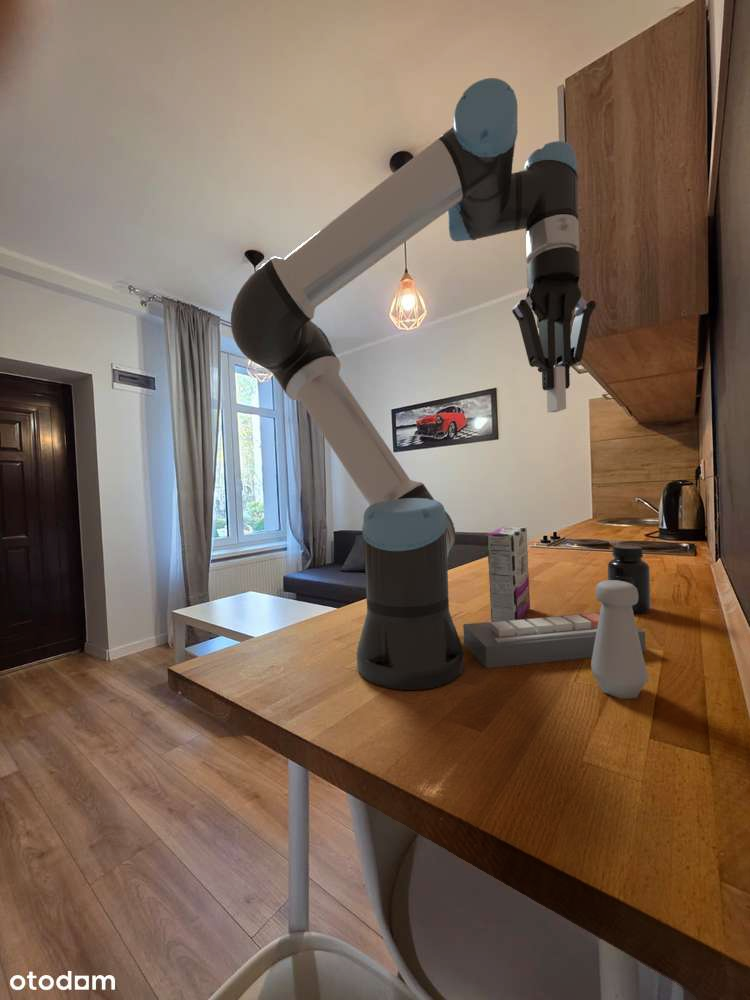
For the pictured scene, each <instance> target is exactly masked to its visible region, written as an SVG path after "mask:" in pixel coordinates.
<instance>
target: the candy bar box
mask: <svg viewBox="0 0 750 1000" xmlns="http://www.w3.org/2000/svg"><path fill="white" fill-rule="evenodd" d="M486 536H487V537H486V538H487V539H486V542H487V559H488V561H487V562H488V573H489V574H488V577H489V579H488V580H489V596H490V597H489V598H490V599H489V600H490V617H491V618H490V620H491V621H490V622H495V621H506V620H518V619H524V617H525V615H526V614H527V613H528V611H529V610H530V608H531V601H530V600H531V599H530V579H529V555H528V535H527V527H525V526H503V527H500V528H499V529H498V528H497V529H496V530H494V531H491V532H490V533H487V534H486Z"/></svg>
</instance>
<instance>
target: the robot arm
mask: <svg viewBox="0 0 750 1000" xmlns="http://www.w3.org/2000/svg"><path fill="white" fill-rule="evenodd" d="M517 100H518V99H517V96H516V93H515V91H514V89H513V88H512V87H511V85H509V84H508V82H506V81H505V80H503V79H499V78H496V77H488V78H483V79H481V80H478V81H476V82H474V83H472V84H471V85H470V86H469V87H468V88H467V89H465V90H464V92H463V93H462V96H460V99H459V100H458V102H457V104H456V105H455V109H454V113H453V121H452V127H451V128H450V129H448V130H447V131H446V132H444V133H443V134H441V136H440V137H439V138H437V139H436V140H434V141H433V142H432V143H430V144H429V145H428V146H427V147H425V148H424V149H423V150H422V151H420V152H419V153H418V154H416V155H415V156H414V157H412V158H411V159H410V160H408V161H407V162H406V163H405V164H404V165H402V166H401V167H400V168H398V169H397V170H396V171H395V172H393V173H392V174H390V175H389V176H388V177H387V178H386V179H384V180H383V181H382V182H380V183H379V184H377V185H376V186H375V187H374V188H373V189H371V190H370V191H369V192H367V193H366V194H365V195H364V196H362V197H361V198H360V199H359V200H357V201H356V202H355V203H352V205H351V206H349V207H348V208H347V209H346V210H345V211H343V212H342V213H341V214H338V216H337V217H336V218H335V219H333V220H331V222H329V223H328V224H326V225H325V226H323V228H321V229H320V230H318V231H317V232H316V233H315V234H314V235H313V236H311V237H310V238H309V239H307V240H305V242H303V243H302V244H301V245H300V246H298V247H297V248H296V249H294V250H293V251H291V253H289V254H288V255H287V256H285V257H284V258H282V257H277V256H272V257H271V258H269V260H267V261H266V262H264V263H263V264H262V265H261V266H260V267H258V269H256V271H255V272H253V273H252V274H251V275H250V277H248V279H247V280H246V281H245V282H244V284H243V285H242V287H241V288H240V290H239V292H238V293H237V295H236V297H235V300H234V302H233V305H232V309H231V313H230V326H231V328H230V329H231V335H232V336H233V339H234V342H235V344H236V346H237V348H238V349H239V350H240V352H241V353H242V354H243V355H244V356H245V357H246V358H247V359H249V361H251V362H253V363H254V364H257V365H259V366H260V367H263V368H264V369H266V370H267V371H270V373H271V374H272V376H274V377H275V379H276V381H277V382H278V383H279V385H280V386H281V388H282V390H283V391H284V393H285V394H286V395H287V397H288V398H289V399H290V400H294V401H299V402H301V403H302V405H303V407H304V408H305V410H306V411H307V412H308V414H309V416H310V417H311V418H312V420H313V422H314V423H315V425H316V427H317V428H318V430H319V431H320V432H321V434H322V436H323V438H324V439H325V440H326V441H327V443H328V444H329V446H330V447H331V449H332V450H333V452H334V453H335V454H334V455H336V456H337V458H338V460H339V461H340V463H341V464H342V466H343V467H344V469H345V471H346V472H347V473H348V475H349V476H350V478H351V479H352V481H353V482H354V484H355V485H356V487H357V489H358V490H359V492H360V493H361V495H362V496H363V498H364V500H365V501H366V502H367V504H368V505H369V506H368V507H367V508H366V509H365V510H364V513H363V519H362V520H363V522H362V523H363V524H362V527H361V529H362V533H361V534H362V537H363V549H364V550H363V552H364V570H365V571H364V572H365V594H366V615H365V620H364V623H363V626H362V629H361V635H360V637H359V641H358V645H357V650H356V664H357V665H356V667H357V668H356V669H357V671H358V673H359V674H360V676H362V677H363V678H364V679H365V680H367V681H368V682H369V683H370V682H371V683H372V684H375V685H377V686H380V687H383V688H388V689H392V690H402V691H415V690H416V691H417V690H418V691H420V690H428V689H433V688H437V687H441V686H444V685H446V684H449V683H451V682H452V681H455V679H457V678H458V677H460V675H462V672H463V670H464V668H465V664H464V663H465V660H464V650H463V649H464V648H463V646H462V643H461V640H460V637H459V635H458V631H457V628H456V626H455V623H454V621H453V617H452V615H451V611H450V603H449V576H448V558H449V557H450V555H451V554H452V551H453V549H454V547H455V542H456V541H455V540H456V530H455V526H454V522H453V520H452V518H451V516H450V514H449V513H448V512H447V511H446V509H445V507H444V505H443V504H442V503H441V502H440V501H438V500H436V499H434V497H433V496H432V495H431V493H430V491H429V490H428V489H427V487H426V486H425V484H424V483H423V482H422V481H416V480H412V479H410V477H409V476H408V474H407V473H406V471H405V470H404V468H403V467H402V466H401V464H400V463H399V461H398V459H397V458H396V457H395V455H394V454H393V452H392V451H391V449H390V448H389V446H388V445H387V443H386V441H385V440H384V438H383V437H382V436H381V435H380V433H379V432H378V430H377V429H376V427H375V426H374V424H373V423H372V421H371V420H370V419H369V417H368V415H367V414H366V412H365V410H363V407H361V405H360V403H359V402H358V400H356V398H355V395H353V393H352V392H351V390H350V389H349V387H348V386H347V385H346V383H345V382H344V380H343V379H342V377H341V376H340V372H341V361H340V360H339V358H338V357H337V355H336V354H335V352H334V350H333V347H332V345H331V342H330V341H329V338H328V336H327V334H326V333H325V332H324V331H323V330H322V328H320V327H319V326H318V325H317V324H315V322H313V321H312V319H314V317H315V310H316V308H317V307H319V306H320V305H321V304H322V303H324V302H325V301H326V300H328V299H329V298H330V297H332V296H333V295H335V294H336V293H337V292H339V291H340V290H341V289H343V288H345V286H347V285H348V284H349V283H351V282H352V281H354V280H355V279H357V278H358V277H359V276H361V275H362V274H363V273H365V272H366V271H368V270H369V269H370V268H372V267H373V266H374V265H375V264H377V263H379V262H380V261H381V260H382V259H384V258H386V257H387V256H388V255H389V254H390V253H392V252H394V251H395V250H396V249H397V248H399V247H400V246H401V245H403V244H405V243H406V242H407V241H408V240H410V239H411V238H413V237H414V236H415V235H417V234H418V233H420V231H422V230H424V229H425V228H426V227H428V226H429V225H430V224H432V223H433V222H434V221H437V219H439V218H440V217H442V216H443V215H444V214H445V213H447V220H448V222H447V223H448V231H449V232H448V234H449V237H450V239H451V240H452V241H453V242H456V243H457V242H463V241H477V239H483V238H487V237H491V236H497V235H500V234H505V233H508V232H509V233H510V232H515V231H520V230H524V229H525V252H526V254H525V256H526V261H525V262H526V264H527V266H526V286H527V289H528V291H527V293H526V295H525V299H521V300H519V302H518V303H516V305H515V306H513V307H512V311H511V312H512V315H513V316H514V317H515V319H516V320H517V322H518V325H519V329H520V332H521V336H522V340H523V345H524V348H525V352H526V357H527V359H528V364H529V366H530V367H531V368H534V367H536V368H537V371H538V372H539V373H541V381H542V382H541V384H542V385H541V388H542V390H543V391H546V402H547V403H546V406H547V407H546V408H547V413H558V412H561V411H564V410H567V397H566V396H567V392H566V390H567V389H570V385H571V383H570V381H571V380H570V368H571V367H572V366H574V365H576V364H578V363H580V362H581V361H582V360H583V354H584V348H585V345H586V339H587V334H588V328H589V324H590V318H591V315H592V314H593V312H594V310H595V309H596V307H597V303H596V301H595V300H590V301H589V302H588V301H587V300H585V299H584V298H583V297H582V291H581V289H580V287H579V280H580V277H581V263H580V262H581V258H580V252H579V250H580V235H579V233H580V231H579V230H580V229H579V227H580V225H579V190H578V189H579V171H578V163H577V162H578V161H577V154H576V151H575V149H574V147H573V146H572V144H570V143H569V142H567V141H566V142H565V141H561V140H556V141H551V142H547V143H545V144H544V145H543V147H542V148H540V149H539V148H537V149H536V150H534V151H533V152H532V153H531V154H530V155H529V157H528V158H527V160H526V162H525V164H524V168H523V170H519V171H517V172H513V164H514V163H513V162H514V154H515V147H516V140H517V137H518V101H517ZM573 311H574V313H573ZM573 315H574V316H575V317H574V319H573ZM535 316H536V318H535ZM572 319H573V321H572ZM571 322H572V328H571Z"/></svg>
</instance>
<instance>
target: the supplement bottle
mask: <svg viewBox="0 0 750 1000" xmlns="http://www.w3.org/2000/svg"><path fill="white" fill-rule="evenodd" d="M612 556H613V557H614V558H613V559H611V560H609V562H608V563H607V581H608V580H617V581H623V582H627V583H630V584H633V585H634V586H635V587H636V588H637V591H638V602H637V604H635V605H632V609H633V613H634V614H645V613H646V614H647V613H649V611H651V604H652V603H651V602H652V601H651V573H650V572H651V571H650V570H651V569H650V566H649V564H648V563H647V562H646V561H644V560H642V559H643V558H644V553H643V547H641V546H638V545H637V546H636V545H615V546H612Z"/></svg>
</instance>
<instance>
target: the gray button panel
mask: <svg viewBox="0 0 750 1000" xmlns="http://www.w3.org/2000/svg"><path fill="white" fill-rule="evenodd" d="M599 615H600V611H598V612H588V613H587V612H586V613H577V614H567V615H565V614H564V615H556V616H555V615H554V616H543V617H532V618H531V617H530V618H522V619H518V620H506V621H495V622H492V621H487V622H475V623H473V622H472V623H463V625H462V626H463V627H462V628H463V643H464V645H466V647H467V648H468V649H469V650H470V651H471V653H472V654H473V655H474V656H475V657H476V658H477V659H478V660H479V662H481V664H482V665H483V666H484V667H485V668H486V669H490V668H491V669H493V668H502V667H513V666H520V665H522V666H523V665H531V664H533V665H534V664H541V663H552V662H560V661H570V660H571V661H572V660H580V659H581V660H582V659H590V658H591V659H592V655H593V649H594V644H595V638H596V632H597V626H598V621H599ZM637 631H638V636H639V640H640V645H641V649H642V653H646V631H645V630H642V629H640V628H638V627H637Z"/></svg>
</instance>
